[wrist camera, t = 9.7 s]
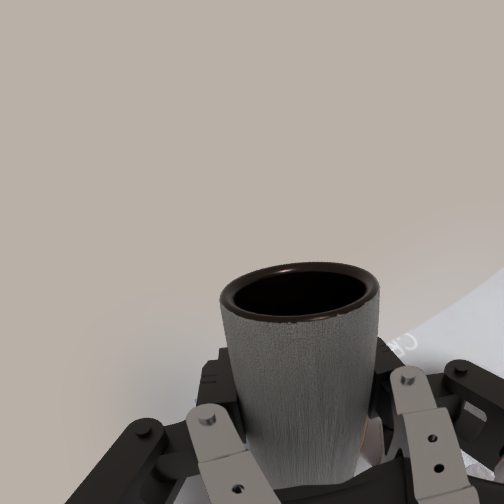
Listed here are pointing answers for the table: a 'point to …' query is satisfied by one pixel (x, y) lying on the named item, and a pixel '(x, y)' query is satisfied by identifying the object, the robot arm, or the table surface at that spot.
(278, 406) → the planter
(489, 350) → the table surface
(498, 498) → the robot arm
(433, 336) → the table surface
